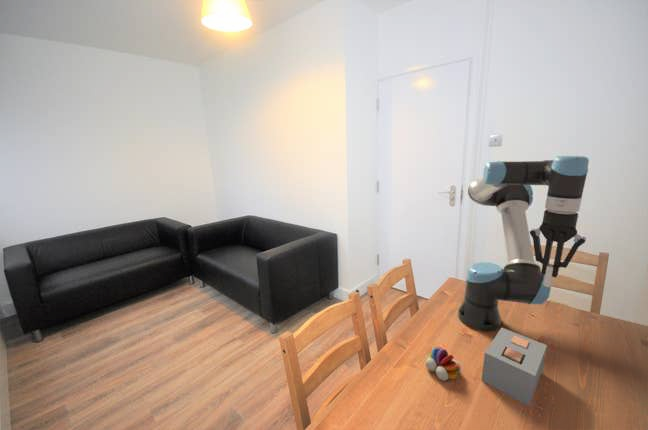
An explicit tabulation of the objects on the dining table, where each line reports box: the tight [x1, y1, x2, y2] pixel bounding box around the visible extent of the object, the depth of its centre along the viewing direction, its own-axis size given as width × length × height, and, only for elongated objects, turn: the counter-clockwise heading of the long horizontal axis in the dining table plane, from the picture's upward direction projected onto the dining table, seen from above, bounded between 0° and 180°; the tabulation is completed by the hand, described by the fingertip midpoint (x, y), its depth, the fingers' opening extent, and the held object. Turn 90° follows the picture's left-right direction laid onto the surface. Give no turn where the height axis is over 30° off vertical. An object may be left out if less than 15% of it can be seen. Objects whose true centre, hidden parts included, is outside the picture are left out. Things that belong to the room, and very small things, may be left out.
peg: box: [503, 347, 523, 364], centre depth 81 cm, size 4×4×9 cm
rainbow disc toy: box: [425, 347, 462, 381], centre depth 87 cm, size 8×10×7 cm
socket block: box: [480, 326, 548, 407], centre depth 83 cm, size 12×16×10 cm
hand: (547, 284), depth 85 cm, fingers closed
